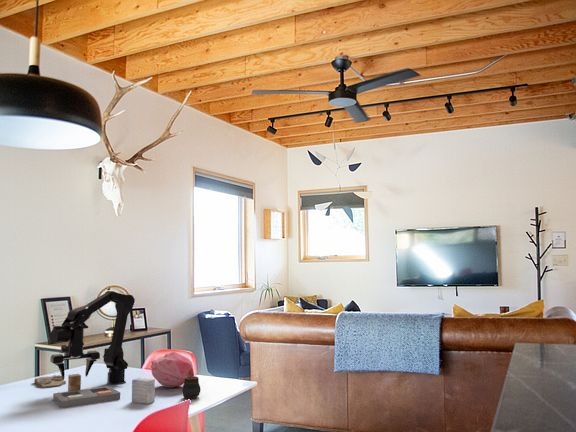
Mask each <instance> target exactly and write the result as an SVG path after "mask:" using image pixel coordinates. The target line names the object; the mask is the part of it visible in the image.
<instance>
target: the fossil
mask: <svg viewBox="0 0 576 432" xmlns="http://www.w3.org/2000/svg"><path fill="white" fill-rule="evenodd" d="M33 382H34V383H35V384H36V385H37V387H39V388H41V389H46V388H53V387H59V386H60V387H61V386H63V385H66V383H67V381H66V380H65V379H64V380H63V379H62V376H61V374H59V375H51V376H47V375H46V376H39V377H36V378H35V379H34V381H33Z"/></svg>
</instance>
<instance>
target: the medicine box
mask: <svg viewBox="0 0 576 432" xmlns="http://www.w3.org/2000/svg"><path fill="white" fill-rule="evenodd" d="M155 380H156V379H155V378H146V377H136V378H134V379H132V380H131V403H137V404H146V405H149V404H151V403H154V402H155V399H156V398H155V397H156V395H155V389H156V388H155Z"/></svg>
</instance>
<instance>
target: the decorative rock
mask: <svg viewBox="0 0 576 432" xmlns="http://www.w3.org/2000/svg"><path fill="white" fill-rule="evenodd" d="M150 368H151V375H152V377H153V379H154V380H156V381H157V382H158V383H159V384H160V385H161V386H163V387H166V388H168V389H170V388H175V387H180V386H183V385H184V382H185V377H189V376H191V375H190V371H191V373H192V376H195V372H194V367H193V362H192V361H191V359H190V358H189V357H187V356H184V355H182V354H180V353H178V352H176V351H171V352H169V353H165V354H164V355H161V356H159V357H157V358H156V359H152V360H151V365H150Z"/></svg>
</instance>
